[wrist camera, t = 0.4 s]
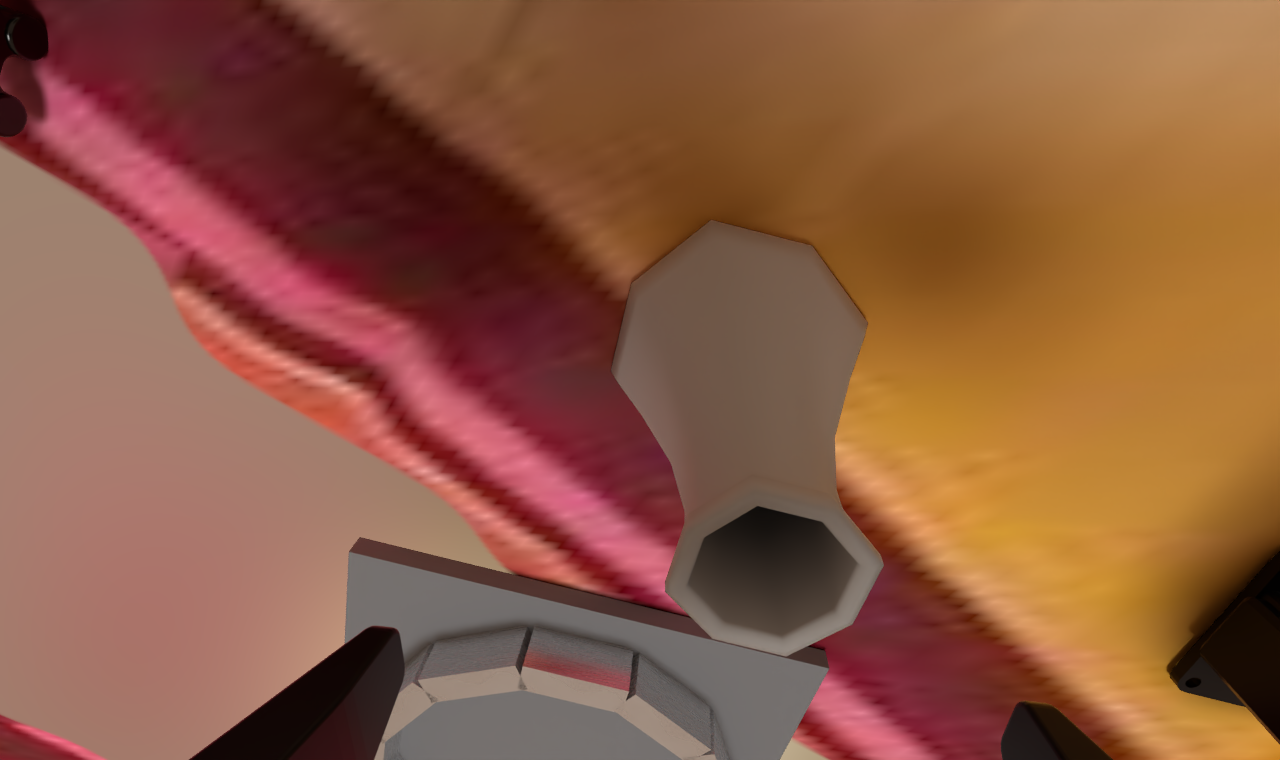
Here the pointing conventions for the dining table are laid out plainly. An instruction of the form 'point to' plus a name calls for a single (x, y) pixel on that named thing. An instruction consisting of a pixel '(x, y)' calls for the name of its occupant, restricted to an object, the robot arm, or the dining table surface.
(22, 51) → the valve
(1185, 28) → the dining table surface
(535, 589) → the rubber mat
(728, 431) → the flask
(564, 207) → the dining table surface
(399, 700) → the stone ring
